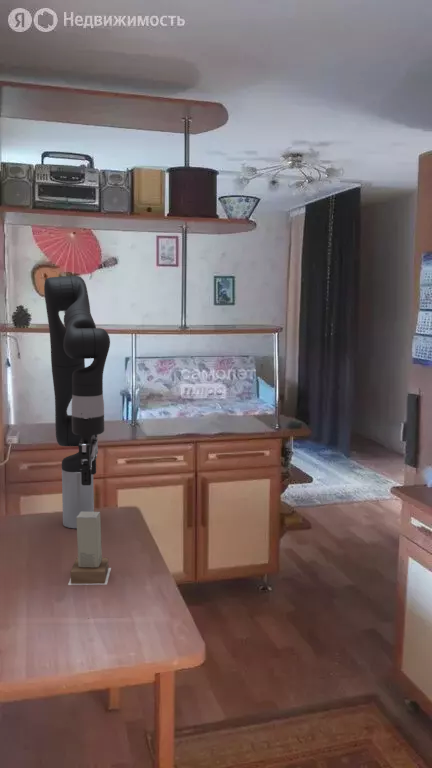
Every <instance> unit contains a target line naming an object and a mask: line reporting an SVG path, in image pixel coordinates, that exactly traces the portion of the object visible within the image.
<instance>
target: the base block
mask: <svg viewBox="0 0 432 768" xmlns="http://www.w3.org/2000/svg"><path fill="white" fill-rule="evenodd" d="M108 568H109V557H102V561H101V563H100V565H99V567H94V568H91V567H78V557H76V558H75V559H74V562H73V565H72V568H71V570H70V578H71V584H96V583H105V580H106V576H107V573H108Z"/></svg>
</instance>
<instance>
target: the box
mask: <svg viewBox="0 0 432 768" xmlns="http://www.w3.org/2000/svg"><path fill="white" fill-rule="evenodd" d="M76 522H77V528H76V540H77V541H76V542H77V543H76V544H77V558H78V567H91V568H94V567H99V565H100V563H101V561H102V558H103V556H102V555H103V554H102V553H103V549H102V528H101V527H102V524H101V512H100V511H94V512H80V513H79V514H78V516H77V517H76Z"/></svg>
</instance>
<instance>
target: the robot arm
mask: <svg viewBox="0 0 432 768" xmlns="http://www.w3.org/2000/svg"><path fill="white" fill-rule="evenodd" d="M44 281H45V282H44V285H43V287H44V289H43V290H44V302H45V308H46V316H47V322H48V323H47V324H48V329H49V331H48V332H49V339H50V340H49V341H50V342H49V343H50V363H51V373H52V374H51V375H52V383H53V391H54V392H53V393H54V410H55V413H54V416H55V417H54V419H55V420H54V421H55V423H54V424H55V437H56V443H57V444H58V445H59V446H61V447H78V452H76V453H74V454H71V455H68V456H66V457H64V458H63V459H62V460H61V488H62V489H61V490H62V491H61V492H62V495H61V496H62V502H61V503H62V525H63V526H64V527H65V528H69V529H77V522H76V517H77V516H78V514H79V513H80V512H95V501H94V500H95V493H94V475H95V474H96V473H97V458H98V453H99V447H98V445H99V441H98V435H101V434H103V433H104V432H105V402H104V389H103V388H104V387H103V385H104V383H103V382H104V381H103V379H104V371H105V370H104V369H105V364H106V361H107V359H108V358H107V357H108V354H109V350H110V346H111V338H110V335H109V333H108V332H107V330H106V329H104V328H99V327H97V325H96V323H95V320H94V319H93V316H92V313H91V306H90V305H91V303H90V299H89V298H90V297H89V293H88V292H89V291H88V289H87V285H86V281H85V280H84V279H83V278H82V277H81V276H79V275H67V276H66V275H65V276H50V277H47V278H46V279H45V280H44ZM60 312H65V313H64V316H63V322H62V320H61V317H60ZM86 359H93V360H92V362H91V364H90V365H88V366H86V363H85V362H86V361H85V360H86ZM70 404H71V414H70V415H69V414H68V408H69V405H70Z"/></svg>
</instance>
